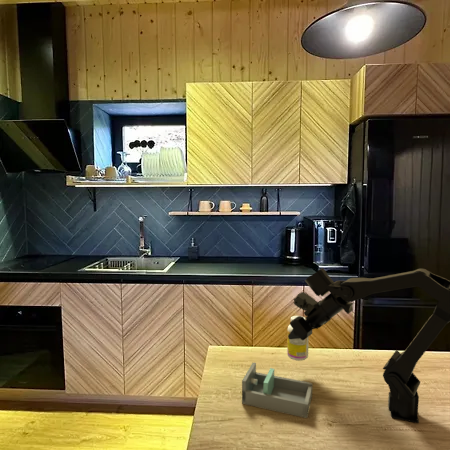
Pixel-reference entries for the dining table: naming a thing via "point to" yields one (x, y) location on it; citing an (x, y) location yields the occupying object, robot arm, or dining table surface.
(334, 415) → the dining table surface
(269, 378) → the pusher plate
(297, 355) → the supplement bottle
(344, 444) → the dining table surface
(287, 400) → the tray
